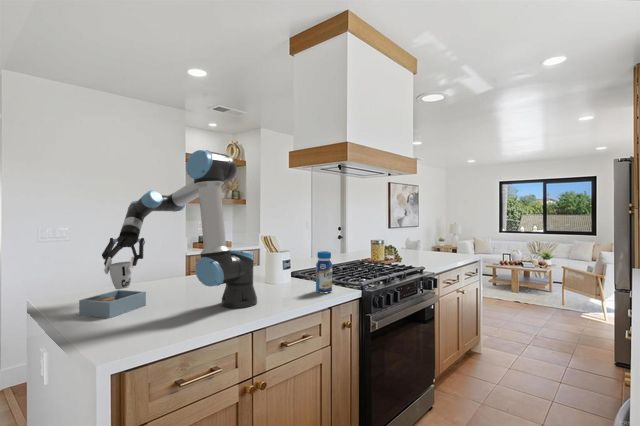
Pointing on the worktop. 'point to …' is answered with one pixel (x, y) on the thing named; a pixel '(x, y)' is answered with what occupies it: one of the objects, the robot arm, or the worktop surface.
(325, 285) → the beverage bottle
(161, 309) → the worktop surface
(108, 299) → the walnut cube
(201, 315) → the worktop surface
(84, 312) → the tote
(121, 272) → the cup
